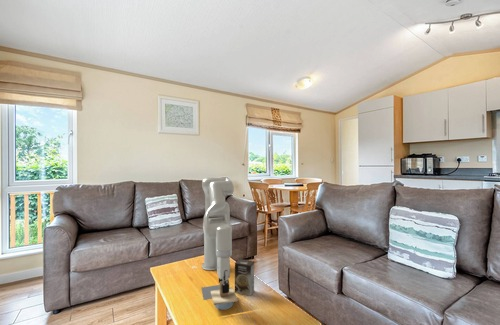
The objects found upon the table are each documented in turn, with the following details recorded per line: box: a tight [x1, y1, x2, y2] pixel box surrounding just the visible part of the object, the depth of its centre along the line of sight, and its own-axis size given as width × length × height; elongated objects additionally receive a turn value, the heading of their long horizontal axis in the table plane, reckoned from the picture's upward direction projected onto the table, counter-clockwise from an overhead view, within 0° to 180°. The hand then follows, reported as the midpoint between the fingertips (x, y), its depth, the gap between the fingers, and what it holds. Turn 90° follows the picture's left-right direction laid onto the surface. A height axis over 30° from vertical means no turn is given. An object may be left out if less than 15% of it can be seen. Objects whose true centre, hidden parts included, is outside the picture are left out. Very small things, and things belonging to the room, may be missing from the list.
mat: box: [201, 284, 220, 301], centre depth 124 cm, size 12×12×1 cm
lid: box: [211, 281, 239, 306], centre depth 114 cm, size 11×11×7 cm
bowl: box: [214, 302, 234, 311], centre depth 114 cm, size 9×9×4 cm
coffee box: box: [234, 258, 255, 296], centre depth 125 cm, size 9×6×16 cm
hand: (223, 287), depth 114 cm, fingers open, 9 cm apart
